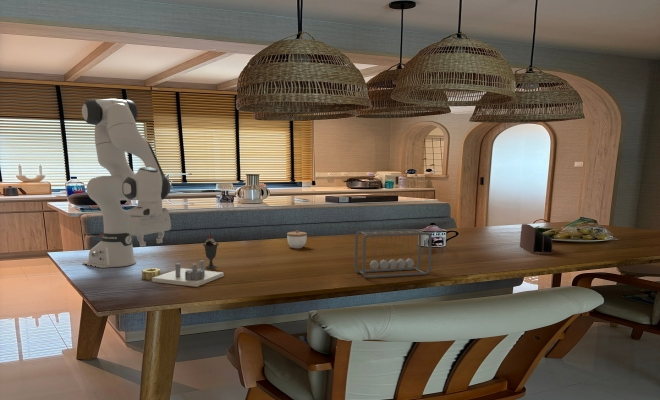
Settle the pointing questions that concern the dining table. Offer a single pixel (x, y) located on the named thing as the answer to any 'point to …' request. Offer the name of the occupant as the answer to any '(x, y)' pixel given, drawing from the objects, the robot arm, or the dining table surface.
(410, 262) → the newton's cradle
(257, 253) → the dining table surface
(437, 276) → the dining table surface
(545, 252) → the letter holder
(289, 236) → the lidded jar
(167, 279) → the gear board
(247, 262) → the dining table surface
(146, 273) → the gear
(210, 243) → the sundae
